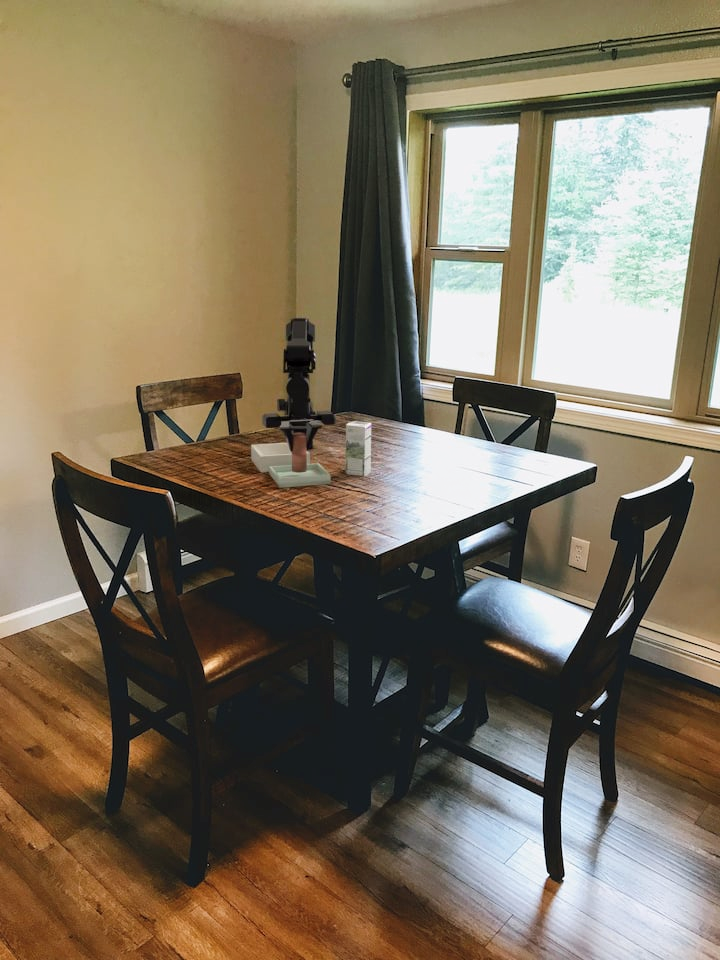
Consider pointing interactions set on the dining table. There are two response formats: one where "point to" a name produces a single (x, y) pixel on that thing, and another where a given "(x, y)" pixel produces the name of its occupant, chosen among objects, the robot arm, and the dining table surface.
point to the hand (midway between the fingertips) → (299, 450)
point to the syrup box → (358, 448)
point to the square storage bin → (272, 455)
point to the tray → (299, 476)
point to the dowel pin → (299, 452)
